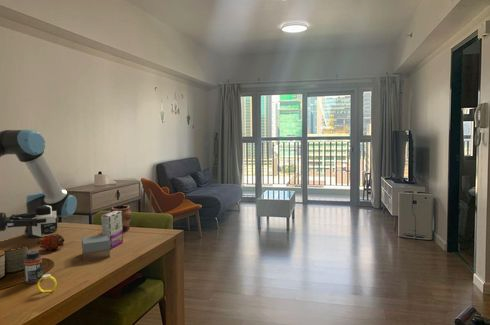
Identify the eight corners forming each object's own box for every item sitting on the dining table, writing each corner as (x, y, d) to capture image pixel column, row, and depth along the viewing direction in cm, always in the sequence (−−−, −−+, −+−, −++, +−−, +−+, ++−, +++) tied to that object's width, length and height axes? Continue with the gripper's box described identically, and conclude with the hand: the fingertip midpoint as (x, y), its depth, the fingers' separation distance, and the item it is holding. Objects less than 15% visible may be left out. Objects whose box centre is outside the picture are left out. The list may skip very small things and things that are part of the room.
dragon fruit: (66, 252, 175) (40, 257, 174) (68, 238, 182) (43, 242, 180) (60, 241, 170) (32, 246, 168) (62, 227, 176) (36, 232, 174)
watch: (37, 294, 126) (35, 278, 126) (40, 291, 129) (38, 275, 128) (55, 292, 127) (53, 275, 127) (58, 288, 130) (56, 272, 129)
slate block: (81, 246, 168) (81, 237, 168) (107, 242, 173) (106, 234, 173) (83, 252, 159) (83, 243, 158) (110, 248, 164) (109, 240, 163)
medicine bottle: (41, 237, 150) (39, 208, 149) (32, 234, 154) (30, 206, 153) (58, 232, 156) (56, 205, 155) (48, 230, 160) (47, 203, 159)
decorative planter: (129, 235, 199) (128, 210, 198) (105, 236, 197) (104, 210, 196) (134, 225, 219) (133, 203, 218) (112, 226, 217) (112, 203, 216)
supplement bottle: (30, 278, 140) (28, 249, 139) (46, 277, 140) (44, 249, 139) (21, 284, 134) (20, 254, 133) (38, 284, 134) (37, 254, 133)
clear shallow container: (82, 254, 169) (82, 245, 168) (107, 250, 174) (107, 242, 173) (83, 261, 159) (83, 252, 159) (110, 257, 164) (109, 249, 163)
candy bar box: (114, 242, 186) (113, 210, 185) (123, 242, 185) (122, 210, 184) (101, 248, 175) (100, 215, 174) (111, 249, 174) (110, 215, 173)
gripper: (-1, 225, 157) (57, 219, 167) (-12, 238, 137) (55, 231, 147) (-2, 208, 157) (56, 203, 166) (-13, 219, 137) (54, 213, 146)
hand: (55, 216), depth 157 cm, fingers closed on medicine bottle, 10 cm apart
